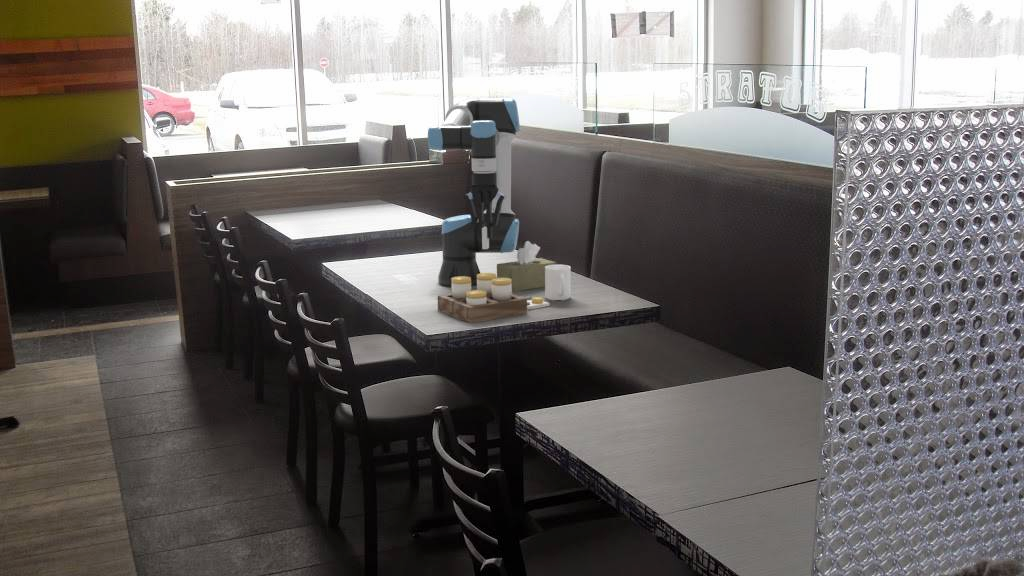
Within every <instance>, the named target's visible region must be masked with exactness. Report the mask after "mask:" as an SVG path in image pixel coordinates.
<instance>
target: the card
mask: <svg viewBox="0 0 1024 576" xmlns="http://www.w3.org/2000/svg"><path fill="white" fill-rule="evenodd" d="M522 297H523V298H526V299H527V311H528V310H534V309H539V308H540V309H541V308H545V307H546V306H547V307H550V302H547V301H544V298H543V297H540V296H539V297H536V296H535V297H532V296H529V295H526V296H522Z"/></svg>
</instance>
